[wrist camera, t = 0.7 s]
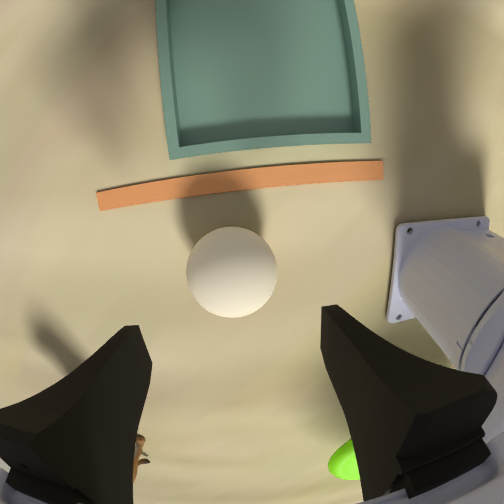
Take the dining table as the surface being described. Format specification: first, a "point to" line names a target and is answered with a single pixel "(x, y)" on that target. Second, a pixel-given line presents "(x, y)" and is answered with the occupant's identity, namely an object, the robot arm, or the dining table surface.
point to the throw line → (239, 181)
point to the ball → (231, 272)
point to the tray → (260, 74)
